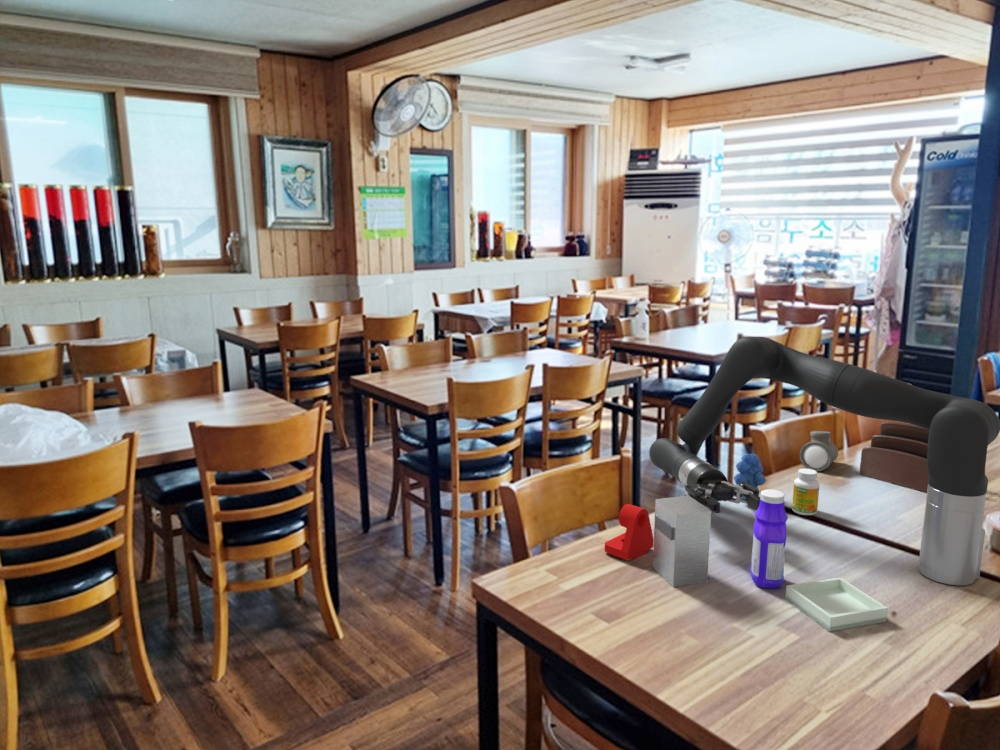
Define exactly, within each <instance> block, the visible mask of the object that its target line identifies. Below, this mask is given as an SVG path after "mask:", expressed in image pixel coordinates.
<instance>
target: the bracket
mask: <svg viewBox="0 0 1000 750" xmlns="http://www.w3.org/2000/svg"><path fill="white" fill-rule="evenodd" d="M650 520H651V519H650V514H649V511H648V510H647V509H646V508H643V507H640V506H636V505H633V504H630V503H626V504H624V505H623V506H622V507H621V509H620V512H619V515H618V522H619V525H620V526H621V527H623V528H626V530H625V532H623V533H621V534H620V535H617V536H615V537H613V538H611V539H608V540H607V541H605V542H604V550H603V551H604V552H605V553H607V554H609V555H612V556H614V557H617V558H620V559H623V560H625V561H628V562H629V561H630V560H634V561H635V560H637V559H639V558H640V557H643V556H644V555H646V554H648V551H649V550H651V549H652V548H654V533H653V529H652V526H651V525H652V524H651V521H650Z"/></svg>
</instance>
